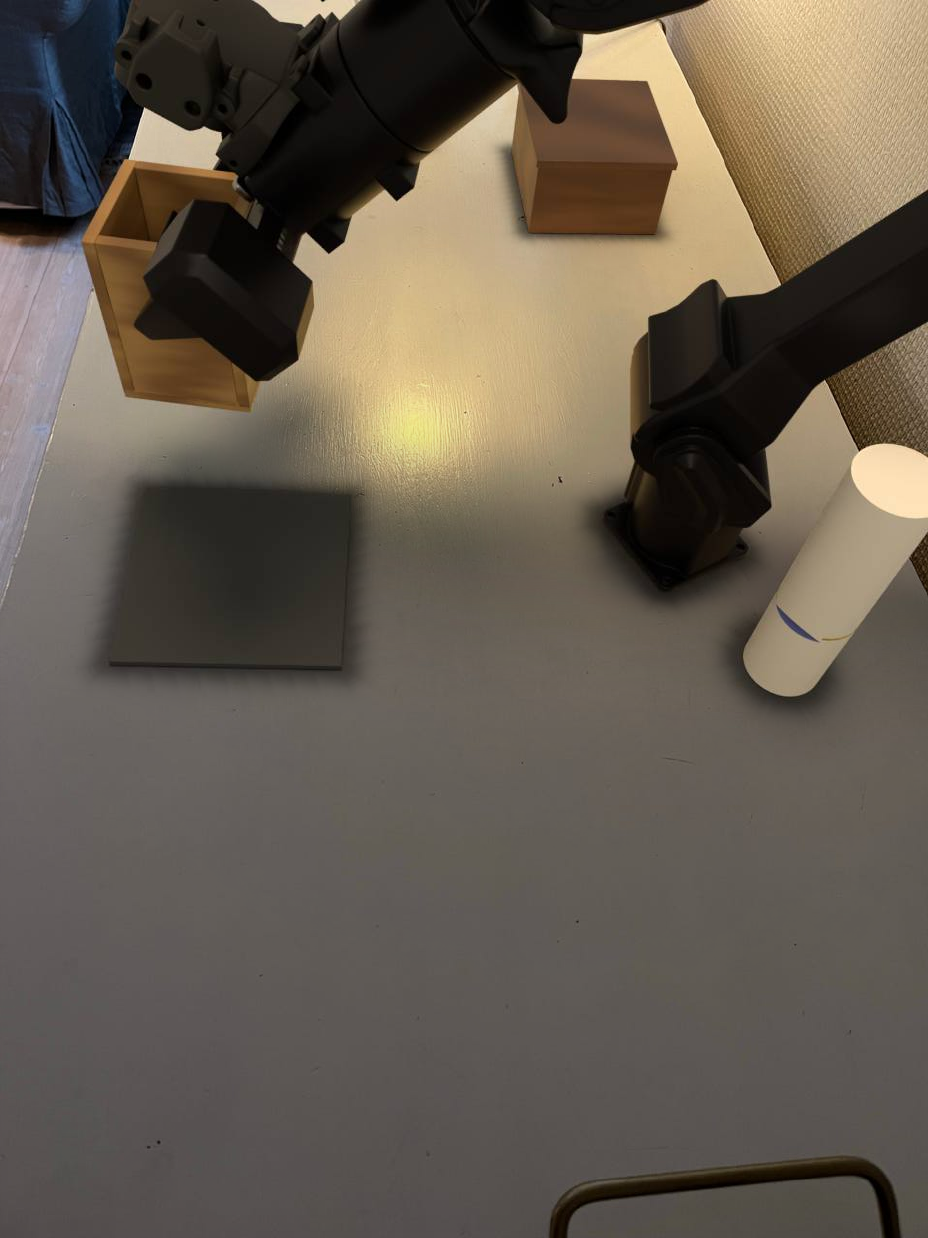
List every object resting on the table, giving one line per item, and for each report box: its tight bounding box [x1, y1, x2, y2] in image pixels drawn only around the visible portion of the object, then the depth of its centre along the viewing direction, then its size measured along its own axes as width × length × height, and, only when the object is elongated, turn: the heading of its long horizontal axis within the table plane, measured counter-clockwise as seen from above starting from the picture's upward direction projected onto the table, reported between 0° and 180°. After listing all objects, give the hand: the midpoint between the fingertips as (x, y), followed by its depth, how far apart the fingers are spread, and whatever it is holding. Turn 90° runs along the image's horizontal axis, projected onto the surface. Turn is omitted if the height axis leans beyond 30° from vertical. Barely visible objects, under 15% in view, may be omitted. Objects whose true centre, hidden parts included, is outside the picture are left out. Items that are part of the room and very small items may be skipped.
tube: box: [742, 443, 928, 698], centre depth 49 cm, size 4×4×15 cm
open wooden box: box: [80, 158, 262, 413], centre depth 48 cm, size 6×6×9 cm
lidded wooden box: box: [510, 78, 679, 235], centre depth 76 cm, size 11×10×6 cm
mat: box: [108, 486, 352, 670], centre depth 55 cm, size 12×12×1 cm
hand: (162, 285), depth 48 cm, fingers closed on open wooden box, 6 cm apart
